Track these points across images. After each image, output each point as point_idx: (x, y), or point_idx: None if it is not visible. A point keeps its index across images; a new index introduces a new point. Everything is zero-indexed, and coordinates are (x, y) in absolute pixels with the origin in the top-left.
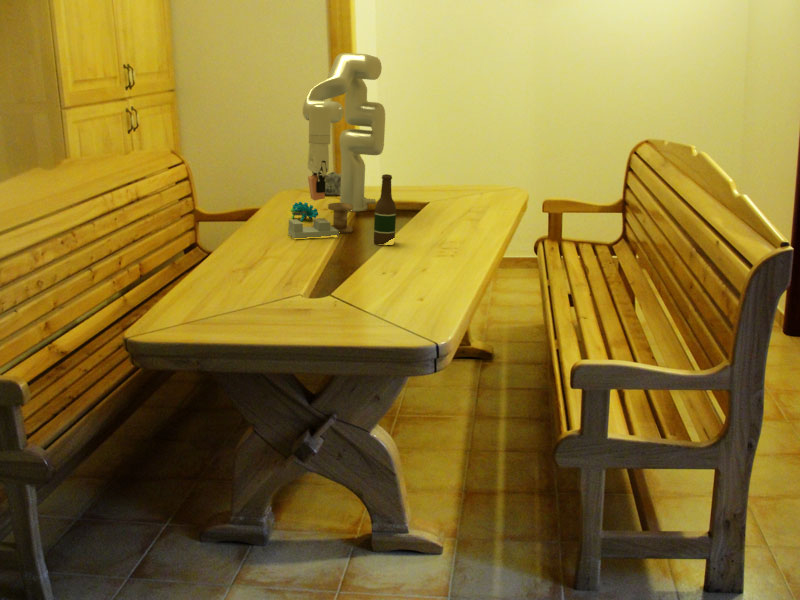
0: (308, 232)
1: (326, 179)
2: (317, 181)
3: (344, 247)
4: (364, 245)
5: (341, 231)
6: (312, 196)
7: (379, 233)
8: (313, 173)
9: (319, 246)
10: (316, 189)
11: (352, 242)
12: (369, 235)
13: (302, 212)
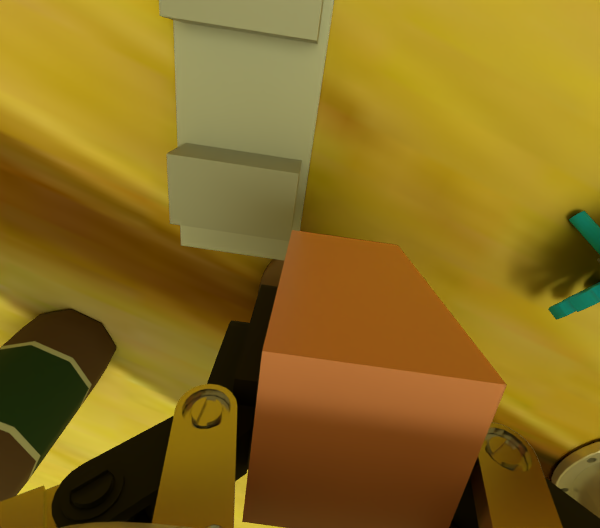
0: (175, 64)
1: None
2: (241, 390)
3: (8, 173)
4: (47, 267)
5: (261, 280)
6: (340, 245)
7: (5, 344)
8: (488, 521)
9: (23, 52)
10: (261, 302)
11: (101, 247)
12: (206, 350)
13: None
